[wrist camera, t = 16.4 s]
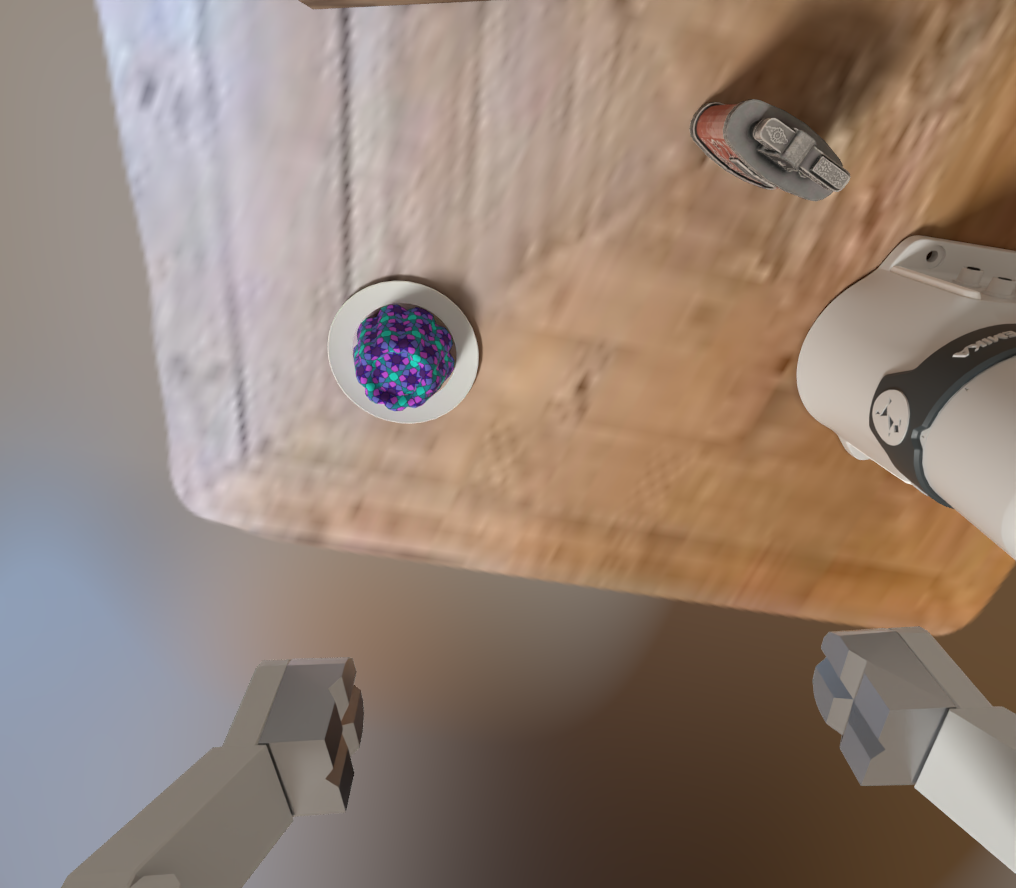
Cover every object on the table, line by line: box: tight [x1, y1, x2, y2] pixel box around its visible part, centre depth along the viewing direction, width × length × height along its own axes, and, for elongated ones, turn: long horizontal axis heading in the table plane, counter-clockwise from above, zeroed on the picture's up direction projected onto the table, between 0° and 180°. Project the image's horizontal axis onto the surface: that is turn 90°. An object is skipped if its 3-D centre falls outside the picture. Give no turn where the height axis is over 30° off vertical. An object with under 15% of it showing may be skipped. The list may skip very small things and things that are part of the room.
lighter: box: [690, 99, 850, 201], centre depth 38 cm, size 8×3×10 cm, turn 60°
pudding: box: [327, 281, 479, 423], centre depth 47 cm, size 12×12×5 cm
